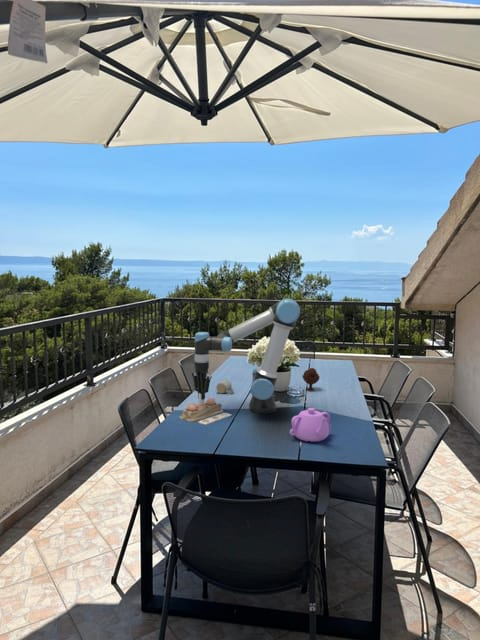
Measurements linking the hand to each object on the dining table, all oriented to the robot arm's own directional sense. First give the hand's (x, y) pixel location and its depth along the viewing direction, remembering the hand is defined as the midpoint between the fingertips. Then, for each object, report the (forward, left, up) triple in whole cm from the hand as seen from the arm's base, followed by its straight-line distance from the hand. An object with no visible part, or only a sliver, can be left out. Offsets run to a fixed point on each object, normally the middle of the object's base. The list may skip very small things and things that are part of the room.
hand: (201, 404), depth 246 cm
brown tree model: (-16, -84, -6) cm, 86 cm away
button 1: (0, +7, -2) cm, 7 cm away
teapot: (-63, -10, -6) cm, 64 cm away
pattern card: (-10, 0, -6) cm, 12 cm away
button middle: (0, 0, -4) cm, 4 cm away
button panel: (0, 0, -6) cm, 6 cm away
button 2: (0, -7, -2) cm, 7 cm away
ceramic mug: (+21, -42, -6) cm, 48 cm away
